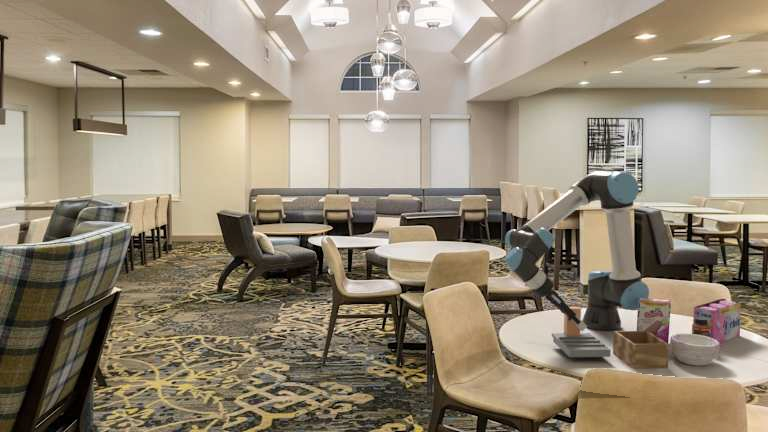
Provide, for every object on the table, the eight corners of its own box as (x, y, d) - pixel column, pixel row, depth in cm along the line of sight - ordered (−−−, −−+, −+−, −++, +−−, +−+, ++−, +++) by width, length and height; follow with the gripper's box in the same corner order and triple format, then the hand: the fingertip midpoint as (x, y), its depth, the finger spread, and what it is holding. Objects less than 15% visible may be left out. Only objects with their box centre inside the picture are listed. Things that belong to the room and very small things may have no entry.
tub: (612, 353, 228) (613, 331, 227) (645, 352, 228) (646, 330, 228) (632, 368, 212) (633, 344, 211) (667, 367, 212) (669, 344, 212)
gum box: (721, 331, 257) (723, 297, 256) (741, 335, 251) (743, 301, 250) (691, 341, 243) (693, 306, 241) (712, 346, 237) (714, 310, 235)
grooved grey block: (551, 340, 237) (552, 306, 235) (588, 339, 237) (590, 306, 236) (569, 357, 217) (570, 321, 215) (610, 356, 217) (611, 320, 216)
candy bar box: (636, 343, 240) (638, 300, 239) (635, 339, 245) (637, 297, 243) (669, 346, 237) (671, 302, 235) (667, 342, 241) (669, 299, 240)
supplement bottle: (712, 349, 232) (714, 319, 231) (703, 352, 229) (704, 321, 228) (697, 345, 237) (698, 315, 236) (687, 347, 234) (689, 317, 233)
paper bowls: (728, 368, 212) (729, 345, 211) (684, 369, 211) (685, 346, 210) (702, 354, 227) (703, 332, 226) (660, 355, 226) (661, 333, 225)
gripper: (525, 285, 241) (567, 328, 243) (538, 295, 225) (583, 340, 227) (540, 271, 241) (582, 314, 243) (553, 280, 225) (598, 326, 227)
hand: (582, 327), depth 235 cm, fingers closed on grooved grey block, 3 cm apart
